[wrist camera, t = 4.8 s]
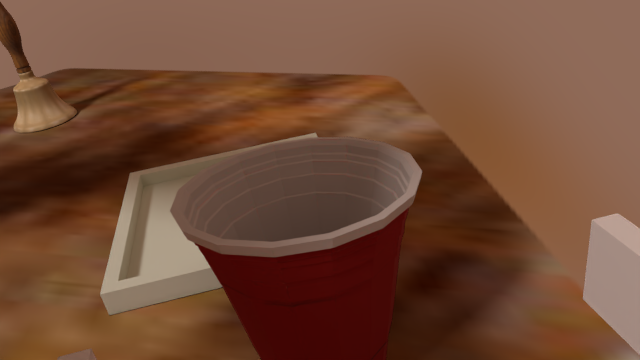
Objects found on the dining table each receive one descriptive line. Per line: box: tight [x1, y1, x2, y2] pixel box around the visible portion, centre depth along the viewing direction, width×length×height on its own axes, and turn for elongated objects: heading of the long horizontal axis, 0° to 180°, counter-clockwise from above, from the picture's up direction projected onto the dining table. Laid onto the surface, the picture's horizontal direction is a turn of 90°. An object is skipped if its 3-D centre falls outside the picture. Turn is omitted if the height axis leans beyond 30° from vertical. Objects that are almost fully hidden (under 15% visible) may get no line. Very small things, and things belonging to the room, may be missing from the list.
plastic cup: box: [170, 137, 422, 360], centre depth 26 cm, size 11×11×12 cm
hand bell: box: [0, 2, 77, 133], centre depth 69 cm, size 8×8×16 cm
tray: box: [100, 133, 318, 315], centre depth 43 cm, size 18×18×2 cm
